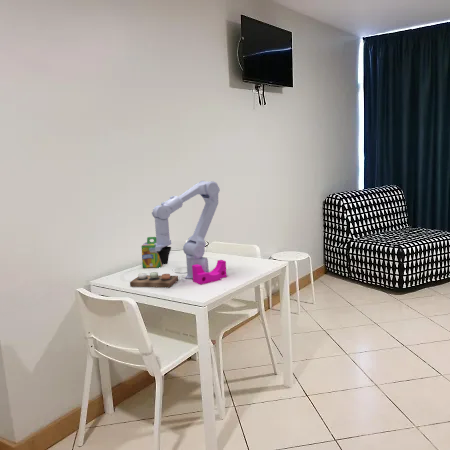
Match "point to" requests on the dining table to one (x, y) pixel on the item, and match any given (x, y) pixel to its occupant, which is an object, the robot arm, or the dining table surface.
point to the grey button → (142, 276)
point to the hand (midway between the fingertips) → (164, 263)
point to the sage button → (153, 274)
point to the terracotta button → (165, 276)
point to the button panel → (154, 282)
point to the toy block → (209, 273)
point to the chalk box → (150, 254)
